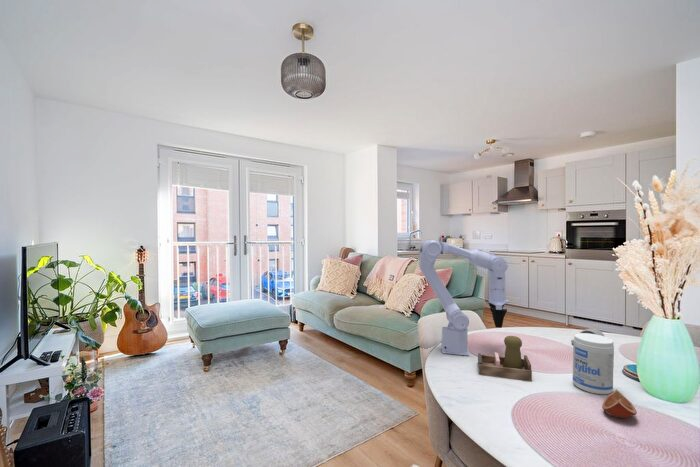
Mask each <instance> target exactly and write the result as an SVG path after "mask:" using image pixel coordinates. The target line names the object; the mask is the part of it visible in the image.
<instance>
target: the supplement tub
mask: <svg viewBox="0 0 700 467" xmlns="http://www.w3.org/2000/svg"><path fill="white" fill-rule="evenodd" d="M604 336H605V335H604ZM604 336H601V335H596V334H589V333H580V332H579V333H575V334H574V338H573V340H574V344H572V346H573V347H572V348H573V352H572V354H573V355H572V383H573V384H574V386H576V387H577V388H578V389H581V391H584V392H588V393H591V394H596V395H609V394H611V393H612V392H614V391H613V390H614V367H615V366H614V360H615V359H614V356H615V345H614V340H613V339H611V338H609V337H607V336H605V337H604Z"/></svg>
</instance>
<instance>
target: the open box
mask: <svg viewBox="0 0 700 467" xmlns="http://www.w3.org/2000/svg"><path fill="white" fill-rule="evenodd" d="M498 356H499V360H500V367H498V366H495V355H490V354H482V353H480V352H478V353H477V365H478V366H477V368H478V375H481V376H488V377H489V376H490V377H495V378H496V377H497V378H504V379H512V380H517V381H518V380H520V381H526V380H527V381H528V382H532V381H533V370H532V364H531V362H530V360H529V358H528V355H527V354H524V355H523V358H521V359H522V366H523V369H515V368H507V367H503V363H504V357H505V356H500V355H498Z"/></svg>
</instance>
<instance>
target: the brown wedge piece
mask: <svg viewBox="0 0 700 467" xmlns="http://www.w3.org/2000/svg"><path fill="white" fill-rule="evenodd" d="M601 408H602V410H604V411H605V412H606V414H608V415H610V416H612V417H614V418H615V417H616V418H621V419H624V418H631V417H633V416H636V415H637V414H638V412H637V409H636V407H635V405H634V404H633V403H632V402H631V401H630V400H629V399H628V398H627V397H626V396H625V395H623V394H622V393H621V392H620V391H619V390H618V389H616V390H614V391H612V392H611V393H609V394H607V396H606V397H605V399H604V401H603V403H602V406H601Z"/></svg>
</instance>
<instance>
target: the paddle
mask: <svg viewBox="0 0 700 467" xmlns="http://www.w3.org/2000/svg"><path fill="white" fill-rule="evenodd" d="M494 356H495V366H498V367H500V360H499V356H500V355H499V353H498V352H494Z"/></svg>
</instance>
